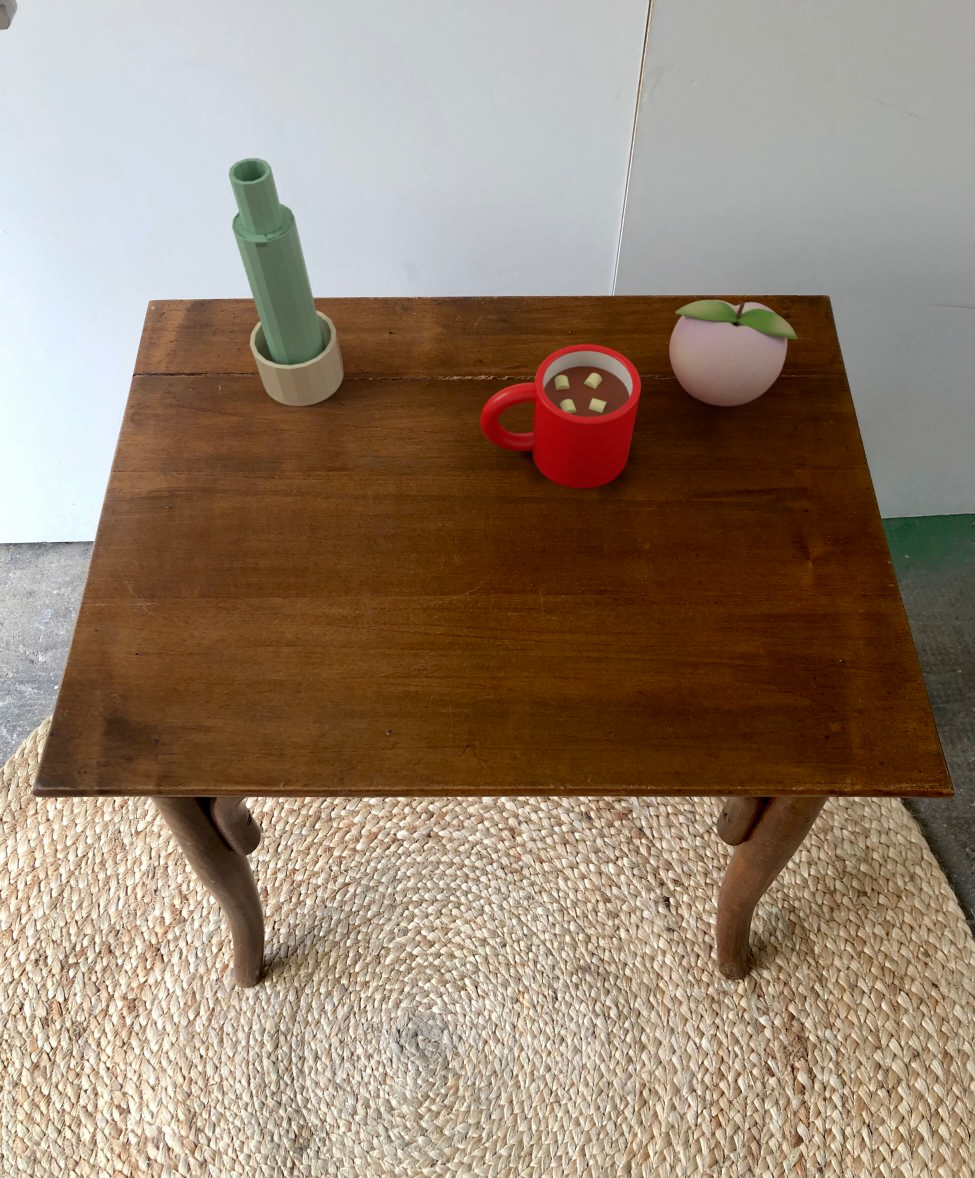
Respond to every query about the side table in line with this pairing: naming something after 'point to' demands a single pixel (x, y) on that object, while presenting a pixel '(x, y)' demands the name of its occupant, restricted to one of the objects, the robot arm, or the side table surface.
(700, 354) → the decorative fruit
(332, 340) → the holder
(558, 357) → the mug
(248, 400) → the side table surface
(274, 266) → the bottle
